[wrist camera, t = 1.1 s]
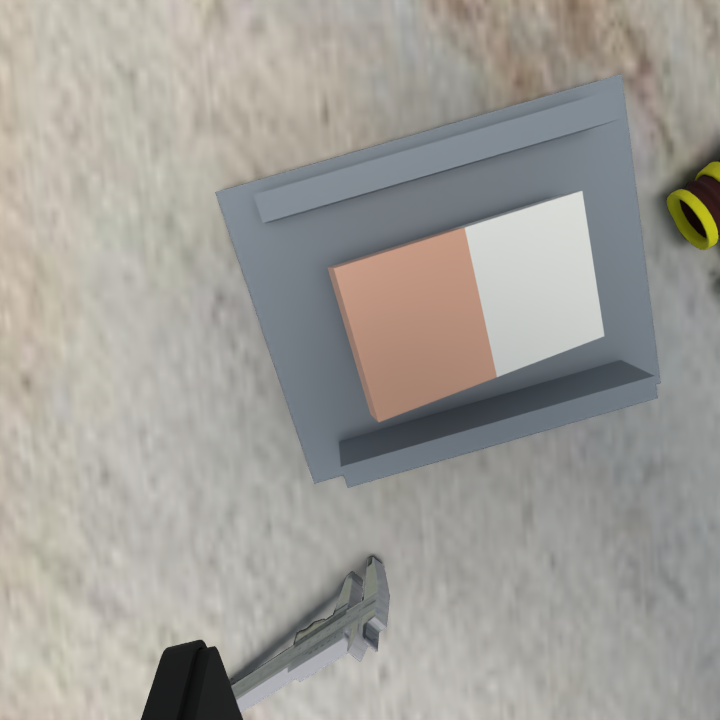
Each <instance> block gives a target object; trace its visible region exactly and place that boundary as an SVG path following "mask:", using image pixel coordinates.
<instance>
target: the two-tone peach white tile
mask: <svg viewBox="0 0 720 720" xmlns="http://www.w3.org/2000/svg"><path fill="white" fill-rule="evenodd" d="M328 271H329V275H330V278H331V281H332V285H333V288H334V292H335V295H336V298H337V302H338V305H339V309H340V312H341V315H342V319H343V322H344V326H345V329H346V332H347V336H348V339H349V343H350V346H351V349H352V353H353V356H354V360H355V363H356V366H357V370H358V373H359V377H360V380H361V383H362V387H363V390H364V394H365V397H366V401H367V404H368V407H369V411H370V414H371V415H372V416H373V417H374V418H375V419H376V420H377V421H378V422H381V421H384V420H386V419H389V418H391V417H394V416H397V415H399V414H402V413H404V412H407V411H410V410H412V409H415V408H418V407H420V406H423V405H425V404H428V403H431V402H433V401H436V400H439V399H441V398H444V397H446V396H449V395H452V394H454V393H457V392H459V391H462V390H465V389H467V388H470V387H473V386H475V385H478V384H480V383H483V382H486V381H488V380H491V379H494V378H496V377H499V376H501V375H504V374H507V373H509V372H512V371H514V370H517V369H520V368H522V367H525V366H528V365H530V364H533V363H535V362H538V361H541V360H543V359H546V358H549V357H551V356H554V355H556V354H559V353H562V352H564V351H567V350H569V349H572V348H575V347H577V346H580V345H583V344H585V343H588V342H590V341H593V340H596V339H598V338H601V337H604V330H603V323H602V317H601V310H600V304H599V297H598V290H597V284H596V277H595V271H594V264H593V258H592V251H591V245H590V238H589V232H588V225H587V218H586V212H585V205H584V199H583V192H582V191H577V192H571V193H565V194H562V195H559V196H555V197H552V198H549V199H546V200H543V201H539V202H536V203H533V204H530V205H527V206H523V207H520V208H517V209H514V210H511V211H507V212H504V213H501V214H498V215H494V216H491V217H488V218H485V219H482V220H478V221H475V222H472V223H469V224H466V225H462V226H459V227H456V228H453V229H450V230H446V231H443V232H440V233H437V234H433V235H430V236H427V237H424V238H421V239H417V240H414V241H411V242H408V243H405V244H401V245H398V246H395V247H392V248H389V249H385V250H382V251H379V252H376V253H372V254H369V255H366V256H363V257H360V258H356V259H353V260H350V261H347V262H344V263H340V264H337V265H334V266H331V267H328Z"/></svg>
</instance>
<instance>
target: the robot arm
mask: <svg viewBox="0 0 720 720" xmlns="http://www.w3.org/2000/svg"><path fill="white" fill-rule="evenodd" d="M141 720H243V718H242V715H241V712H240V710H239V707H238V704H237V701H236V699H235V696H234V693H233V690H232V688H231V685H230V682H229V679H228V676H227V674H226V671H225V668H224V665H223V663H222V660H221V657H220V654H219V652H218V650H217V648H216V647H215V646H213V647H209V648H207V646H206V644H205V642H204V641H203V640H197V641H193V642H189V643H184V644H180V645H176V646H172V647H168V648H166V649H165V650H164V652H163V654H162V656H161V659H160V662H159V665H158V668H157V672H156V675H155V678H154V681H153V684H152V687H151V690H150V693H149V696H148V699H147V703H146V706H145V709H144V712H143V715H142V718H141Z"/></svg>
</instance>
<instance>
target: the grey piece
mask: <svg viewBox="0 0 720 720" xmlns="http://www.w3.org/2000/svg"><path fill="white" fill-rule="evenodd" d="M577 191H582V192H583V199H584V205H585V212H586V218H587V225H588V232H589V238H590V245H591V251H592V258H593V264H594V271H595V277H596V284H597V290H598V297H599V304H600V310H601V317H602V323H603V330H604V337H601V338H598V339H596V340H593V341H590V342H588V343H585V344H583V345H580V346H577V347H575V348H572V349H569V350H567V351H564V352H562V353H559V354H556V355H554V356H551V357H549V358H546V359H543V360H541V361H538V362H535V363H533V364H530V365H528V366H525V367H522V368H520V369H517V370H514V371H512V372H509V373H507V374H504V375H501V376H499V377H496V378H494V379H491V380H488V381H486V382H483V383H480V384H478V385H475V386H473V387H470V388H467V389H465V390H462V391H459V392H457V393H454V394H452V395H449V396H446V397H444V398H441V399H439V400H436V401H433V402H431V403H428V404H425V405H423V406H420V407H418V408H415V409H412V410H410V411H407V412H404V413H402V414H399V415H397V416H394V417H391V418H389V419H386V420H384V421H381V422H378V421H377V420H376V419H375V418H374V417H373V416H372V415H371V414H370V411H369V407H368V404H367V401H366V397H365V394H364V390H363V387H362V383H361V380H360V377H359V373H358V370H357V366H356V363H355V360H354V356H353V353H352V349H351V346H350V343H349V339H348V336H347V332H346V329H345V326H344V322H343V319H342V315H341V312H340V309H339V305H338V302H337V298H336V295H335V292H334V288H333V285H332V281H331V278H330V275H329V271H328V267H331V266H334V265H337V264H340V263H344V262H347V261H350V260H353V259H356V258H360V257H363V256H366V255H369V254H372V253H376V252H379V251H382V250H385V249H389V248H392V247H395V246H398V245H401V244H405V243H408V242H411V241H414V240H417V239H421V238H424V237H427V236H430V235H433V234H437V233H440V232H443V231H446V230H450V229H453V228H456V227H459V226H462V225H466V224H469V223H472V222H475V221H478V220H482V219H485V218H488V217H491V216H494V215H498V214H501V213H504V212H507V211H511V210H514V209H517V208H520V207H523V206H527V205H530V204H533V203H536V202H539V201H543V200H546V199H549V198H552V197H555V196H559V195H562V194H565V193H571V192H577ZM215 193H216V196H217V199H218V202H219V205H220V208H221V210H222V213H223V216H224V219H225V222H226V225H227V228H228V231H229V234H230V237H231V240H232V243H233V246H234V249H235V252H236V255H237V258H238V261H239V263H240V266H241V269H242V272H243V275H244V278H245V281H246V284H247V287H248V290H249V293H250V296H251V299H252V302H253V305H254V308H255V311H256V314H257V316H258V319H259V322H260V325H261V328H262V331H263V334H264V337H265V340H266V343H267V346H268V349H269V352H270V355H271V358H272V361H273V364H274V367H275V369H276V372H277V375H278V378H279V381H280V384H281V387H282V390H283V393H284V396H285V399H286V402H287V405H288V408H289V411H290V414H291V417H292V420H293V422H294V425H295V428H296V431H297V434H298V437H299V440H300V443H301V446H302V449H303V452H304V455H305V458H306V461H307V464H308V467H309V470H310V473H311V475H312V478H313V481H314V483H318V482H321V481H325V480H328V479H332V478H335V477H339V476H342V475H344V478H345V481H346V484H347V488H349V487H352V486H356V485H359V484H363V483H366V482H370V481H373V480H376V479H380V478H383V477H387V476H390V475H394V474H397V473H401V472H404V471H408V470H411V469H414V468H418V467H421V466H425V465H428V464H432V463H435V462H439V461H442V460H446V459H449V458H452V457H456V456H459V455H463V454H466V453H470V452H473V451H477V450H480V449H483V448H487V447H490V446H494V445H497V444H501V443H504V442H508V441H511V440H515V439H518V438H521V437H525V436H528V435H532V434H535V433H539V432H542V431H546V430H549V429H553V428H556V427H559V426H563V425H566V424H570V423H573V422H577V421H580V420H584V419H587V418H590V417H594V416H597V415H601V414H604V413H608V412H611V411H615V410H618V409H622V408H625V407H628V406H632V405H635V404H639V403H642V402H646V401H649V400H653V399H656V398H658V396H657V388H656V384H660V375H659V367H658V359H657V351H656V343H655V335H654V327H653V319H652V311H651V303H650V295H649V287H648V279H647V271H646V263H645V255H644V247H643V239H642V231H641V223H640V215H639V207H638V199H637V191H636V183H635V175H634V167H633V159H632V151H631V143H630V135H629V127H628V119H627V111H626V103H625V95H624V87H623V79H622V74H620V75H617V76H613V77H610V78H606V79H603V80H599V81H596V82H593V83H589V84H586V85H582V86H579V87H575V88H572V89H568V90H565V91H562V92H558V93H555V94H551V95H548V96H544V97H541V98H538V99H534V100H531V101H527V102H524V103H520V104H517V105H514V106H510V107H507V108H503V109H500V110H496V111H493V112H489V113H486V114H483V115H479V116H476V117H472V118H469V119H465V120H462V121H459V122H455V123H452V124H448V125H445V126H441V127H438V128H434V129H431V130H428V131H424V132H421V133H417V134H414V135H410V136H407V137H404V138H400V139H397V140H393V141H390V142H386V143H383V144H380V145H376V146H373V147H369V148H366V149H362V150H359V151H355V152H352V153H349V154H345V155H342V156H338V157H335V158H331V159H328V160H325V161H321V162H318V163H314V164H311V165H307V166H304V167H301V168H297V169H294V170H290V171H287V172H283V173H280V174H276V175H273V176H270V177H266V178H263V179H259V180H256V181H252V182H249V183H246V184H242V185H239V186H235V187H232V188H228V189H225V190H221V191H218V192H215Z"/></svg>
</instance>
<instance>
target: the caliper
mask: <svg viewBox="0 0 720 720" xmlns="http://www.w3.org/2000/svg"><path fill="white" fill-rule="evenodd" d="M362 584H363V580H362V579H361V578H360V577H359V576H358V575H357V574H355V573H354V572H353V571H352V572H351V573H350V574H349V575H347V577H346V579H345V582H344V585H343V588H342V590H341V593H340V596H339V599H338V602H337V604H336V607H335V610H334V613H333V615H332V616H330V617H329V618H327V619H326V620H325V619H321V620H318V621H314V622H313V623H312V624H311V625H310V626H309V627H308V628H306V629H303V630H301V631H299V632H298V633H297V634H296V636H295V640H294V644H293V646H291V647H289V648H288V649H286V650H285V651H283V652H282V653H280V654H279V655H277V656H276V657H274V658H273V659H271V660H270V661H268V662H267V663H265V664H264V665H262V666H261V667H259V668H258V669H256V670H255V671H253V672H251V673H250V674H248V675H247V676H245V677H244V678H242V679H241V680H239V681H238V682H236V683H235V684H233V685H232V686H231V688H232V690H233V693H234V696H235V699H236V701H237V704H238V707H239V710H240V712H241V713H242V712H243V711H245V710H246V709H248V708H250V707H251V706H253V705H254V704H256V703H258V702H259V701H261V700H262V699H264V698H266V697H267V696H269V695H270V694H272V693H274V692H275V691H277V690H278V689H280V688H282V687H283V686H285V685H286V684H288V683H290V682H291V681H293V680H294V679H296V680H298V681H299V682H301V681H302V680H304V679H306V678H307V677H309V676H311V675H312V674H314V673H316V672H317V671H319V670H321V669H322V668H324V667H326V666H327V665H329V664H331V663H332V662H334V661H336V660H337V659H339V658H341V657H342V656H344V655H346V654H347V653H350V654H351V655H352V656H353V657H355V658H356V659H357V660H358V661H359V662H361V660H362V658H363V656H364V654H365V651H366V649H367V646H369V647H370V648H372V649H373V650H374V651H375V652H378V639H379V632H381V631H382V630H384V629H385V628H387V621H388V610H389V599H390V595H389V589H388V584H387V578H386V573H385V568H384V566H383V565H382V564H381V563H380V562H378V561H377V560H376V559H375V558H374V557H369V558H367V568H366V575H365V583H364V590H363V588H362ZM362 592H363V597H362ZM361 600H362V601H361Z"/></svg>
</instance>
